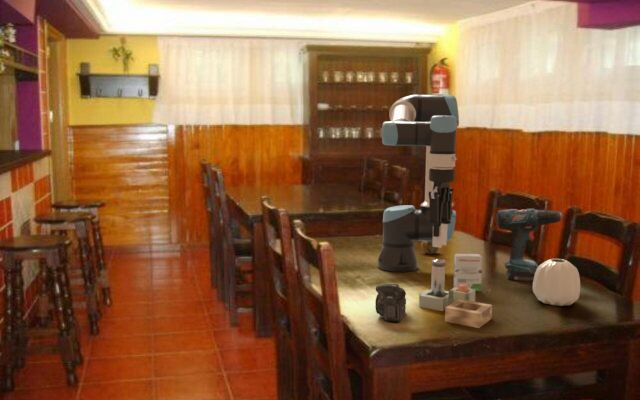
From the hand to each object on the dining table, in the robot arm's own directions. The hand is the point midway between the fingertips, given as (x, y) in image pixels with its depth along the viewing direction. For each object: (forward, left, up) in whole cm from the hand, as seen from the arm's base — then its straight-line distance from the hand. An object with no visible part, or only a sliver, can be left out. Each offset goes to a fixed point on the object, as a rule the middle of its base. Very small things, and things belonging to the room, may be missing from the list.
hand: (439, 245), depth 192 cm
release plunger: (+8, 0, -16) cm, 18 cm away
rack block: (+13, -8, -18) cm, 24 cm away
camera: (-6, -18, -19) cm, 27 cm away
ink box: (+1, +22, -19) cm, 29 cm away
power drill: (+13, +49, -19) cm, 54 cm away
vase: (+29, +24, -19) cm, 42 cm away
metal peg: (0, 0, -18) cm, 18 cm away
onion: (-32, +66, -19) cm, 76 cm away
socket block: (+3, 0, -18) cm, 19 cm away
